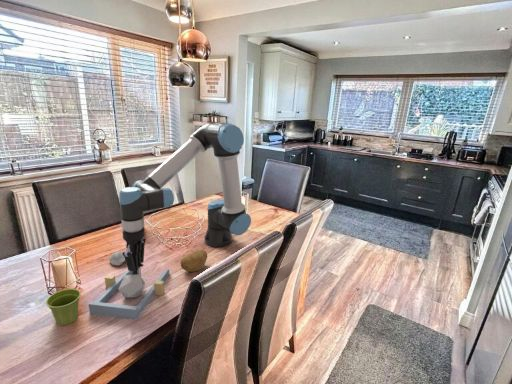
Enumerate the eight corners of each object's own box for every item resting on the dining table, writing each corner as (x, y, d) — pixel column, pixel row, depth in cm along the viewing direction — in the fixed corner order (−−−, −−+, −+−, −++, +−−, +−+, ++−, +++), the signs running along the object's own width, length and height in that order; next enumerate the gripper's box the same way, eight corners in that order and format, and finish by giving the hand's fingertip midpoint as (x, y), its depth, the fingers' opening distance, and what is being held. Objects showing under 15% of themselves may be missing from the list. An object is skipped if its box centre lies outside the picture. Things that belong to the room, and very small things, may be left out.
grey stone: (132, 258, 132) (131, 249, 130) (123, 268, 124) (122, 258, 123) (114, 257, 132) (113, 247, 131) (104, 266, 124) (103, 256, 123)
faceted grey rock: (133, 307, 102) (148, 283, 103) (110, 296, 100) (125, 271, 101) (138, 298, 110) (151, 276, 111) (116, 288, 108) (131, 266, 110)
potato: (213, 265, 129) (213, 250, 127) (191, 280, 118) (191, 263, 116) (197, 258, 134) (197, 244, 132) (175, 272, 123) (174, 256, 120)
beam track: (175, 274, 121) (175, 264, 119) (145, 320, 95) (144, 308, 93) (125, 269, 123) (124, 259, 121) (81, 312, 97) (79, 300, 95)
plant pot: (71, 306, 99) (68, 285, 97) (90, 314, 96) (87, 293, 94) (43, 323, 91) (39, 301, 89) (63, 333, 88) (58, 310, 85)
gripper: (132, 220, 111) (136, 271, 118) (113, 234, 99) (119, 291, 106) (150, 222, 110) (153, 273, 117) (133, 236, 98) (138, 293, 105)
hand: (137, 282), depth 111 cm, fingers closed
